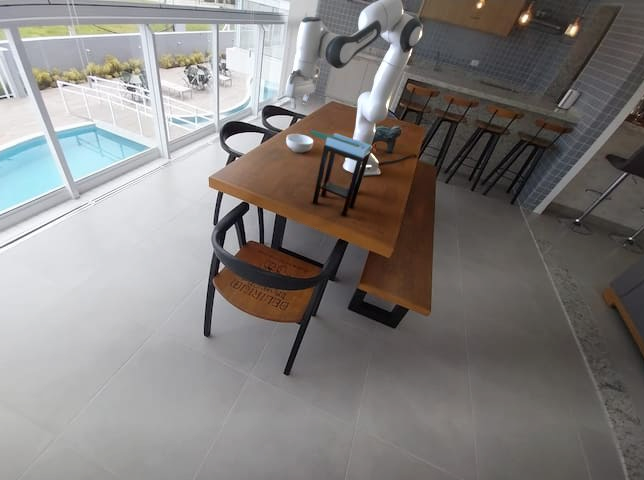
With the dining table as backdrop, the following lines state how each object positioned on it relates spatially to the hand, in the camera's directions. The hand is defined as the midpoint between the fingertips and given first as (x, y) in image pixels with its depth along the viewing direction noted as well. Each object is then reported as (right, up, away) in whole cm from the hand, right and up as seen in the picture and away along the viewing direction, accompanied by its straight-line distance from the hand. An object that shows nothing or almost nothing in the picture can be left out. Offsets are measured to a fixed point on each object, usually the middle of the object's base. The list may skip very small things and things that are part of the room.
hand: (298, 106), depth 130 cm
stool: (+17, -39, +14) cm, 45 cm away
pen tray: (+21, -20, -4) cm, 29 cm away
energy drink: (+29, -30, +28) cm, 50 cm away
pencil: (+16, -16, -3) cm, 23 cm away
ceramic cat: (+56, +12, +78) cm, 97 cm away
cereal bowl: (+1, +4, +59) cm, 59 cm away
